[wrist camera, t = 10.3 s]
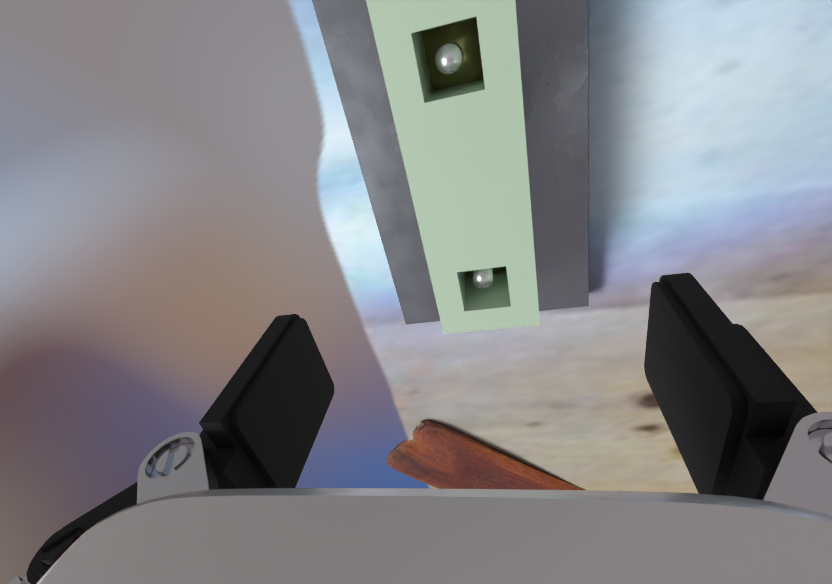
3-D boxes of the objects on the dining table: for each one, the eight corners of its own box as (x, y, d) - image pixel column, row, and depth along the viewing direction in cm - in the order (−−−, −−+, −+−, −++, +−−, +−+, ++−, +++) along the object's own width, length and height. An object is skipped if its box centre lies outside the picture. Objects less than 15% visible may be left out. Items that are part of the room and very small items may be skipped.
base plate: (580, -130, 19) (617, -185, 14) (584, 294, 31) (604, 345, 26) (309, -42, 22) (260, -60, 17) (408, 313, 35) (396, 362, 30)
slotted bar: (506, -33, 19) (511, -44, 16) (532, 289, 28) (540, 325, 25) (383, 3, 20) (365, -1, 17) (447, 299, 30) (443, 333, 26)
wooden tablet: (383, 457, 47) (380, 470, 46) (424, 409, 42) (422, 422, 40) (571, 539, 51) (573, 553, 50) (630, 506, 46) (634, 520, 45)
